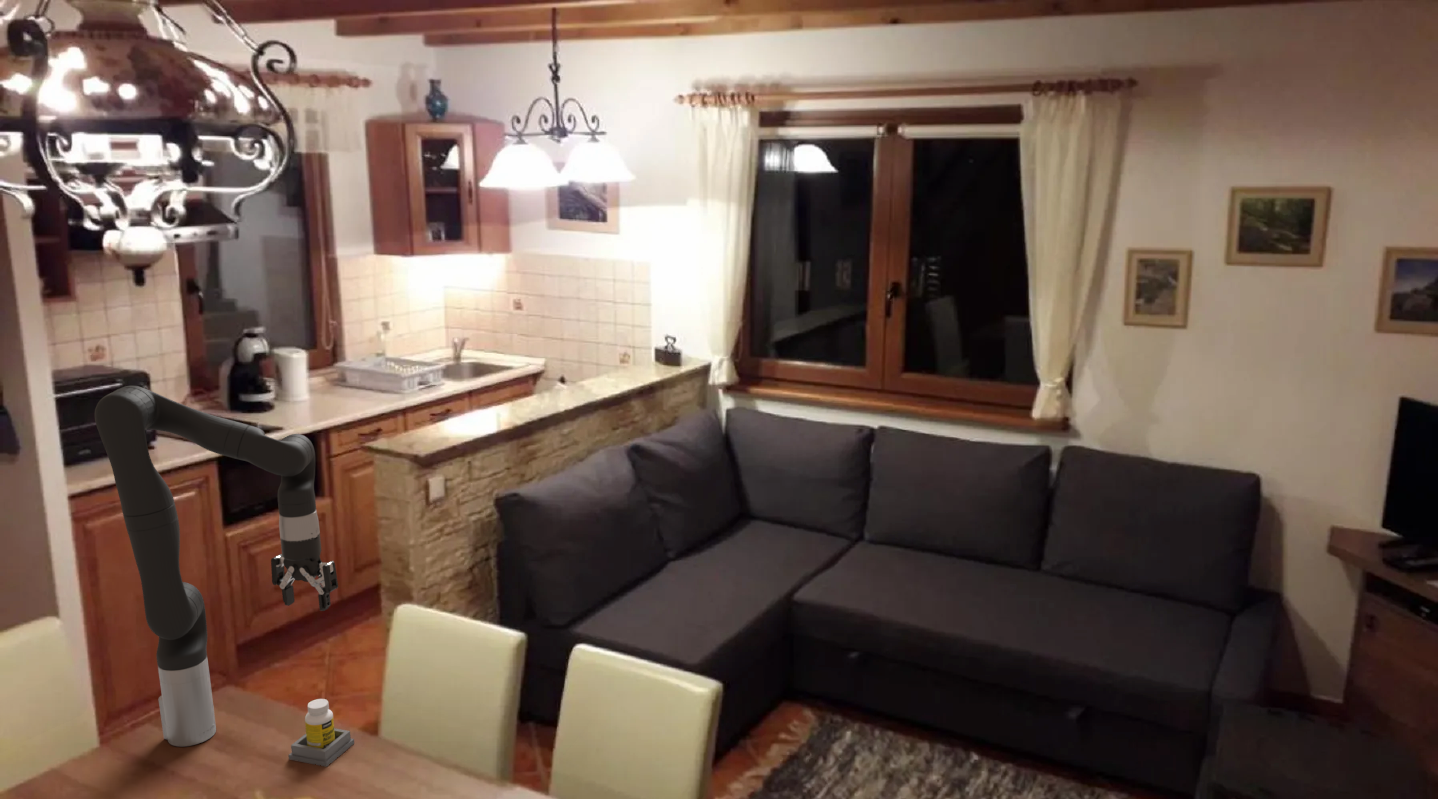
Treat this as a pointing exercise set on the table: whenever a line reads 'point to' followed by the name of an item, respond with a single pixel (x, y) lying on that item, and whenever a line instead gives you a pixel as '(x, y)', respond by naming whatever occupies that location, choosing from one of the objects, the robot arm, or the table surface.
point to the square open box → (321, 755)
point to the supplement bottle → (319, 724)
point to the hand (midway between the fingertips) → (307, 606)
